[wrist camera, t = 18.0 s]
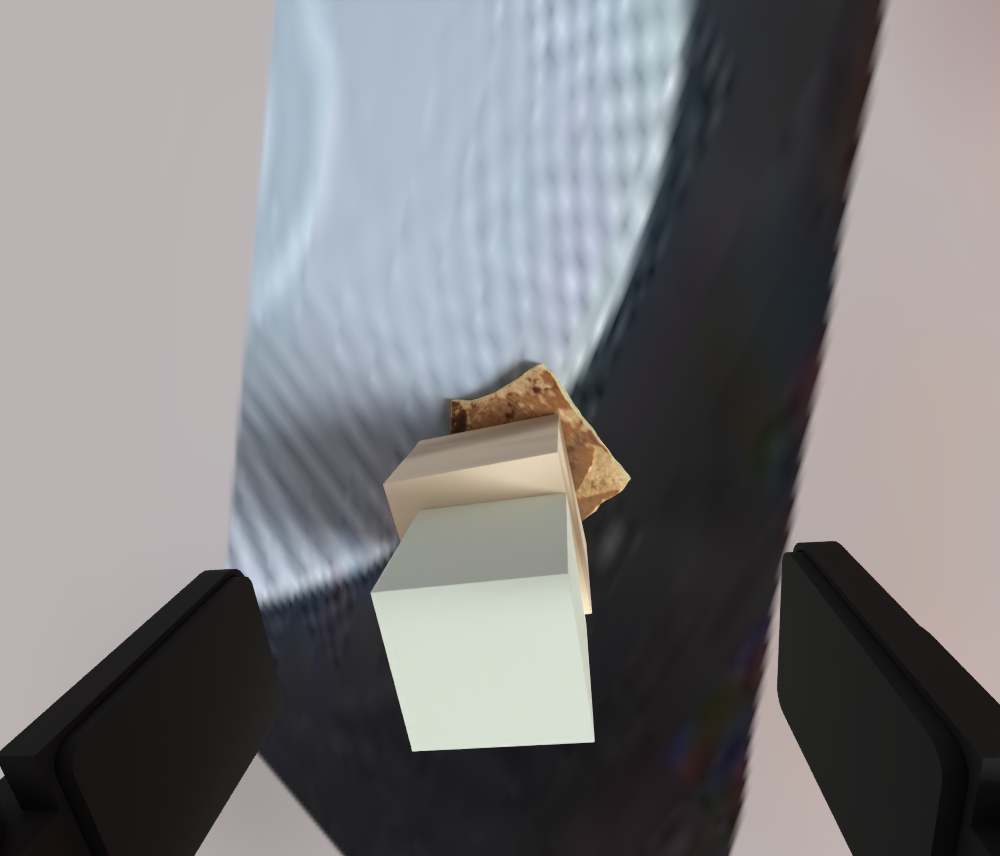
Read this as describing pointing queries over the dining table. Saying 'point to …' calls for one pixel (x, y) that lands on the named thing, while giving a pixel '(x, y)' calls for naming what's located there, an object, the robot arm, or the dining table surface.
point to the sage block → (488, 626)
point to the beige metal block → (489, 475)
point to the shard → (546, 396)
